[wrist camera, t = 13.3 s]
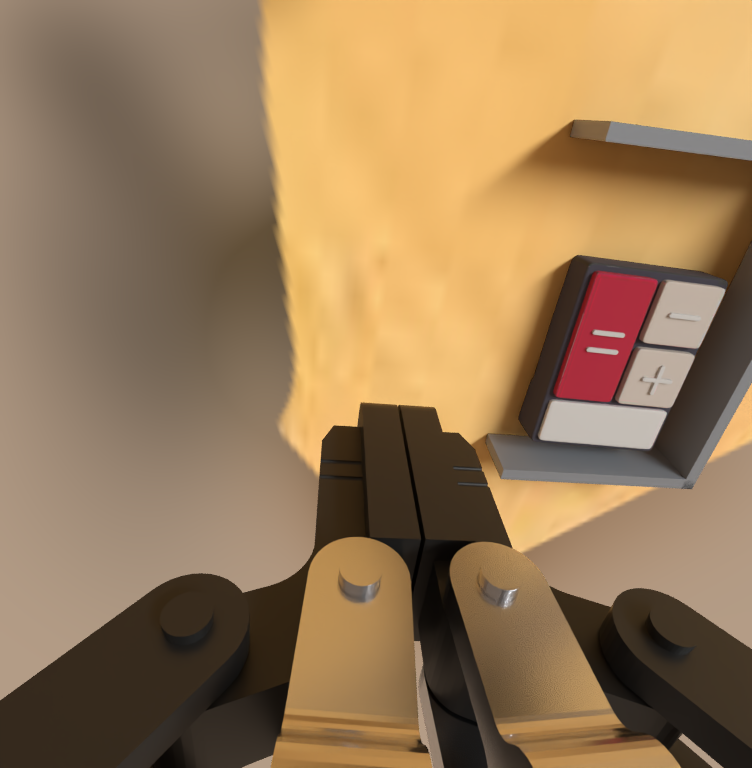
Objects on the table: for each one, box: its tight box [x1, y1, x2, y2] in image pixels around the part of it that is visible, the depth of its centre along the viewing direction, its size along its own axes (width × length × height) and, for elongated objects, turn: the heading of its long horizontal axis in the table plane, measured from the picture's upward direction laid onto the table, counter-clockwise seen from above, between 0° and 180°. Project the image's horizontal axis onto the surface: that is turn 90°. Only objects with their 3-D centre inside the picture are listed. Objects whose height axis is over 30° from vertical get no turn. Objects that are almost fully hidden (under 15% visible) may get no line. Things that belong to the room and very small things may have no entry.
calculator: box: [518, 255, 728, 451], centre depth 39 cm, size 11×4×15 cm
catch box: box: [485, 120, 752, 489], centre depth 37 cm, size 26×17×5 cm, turn 173°
